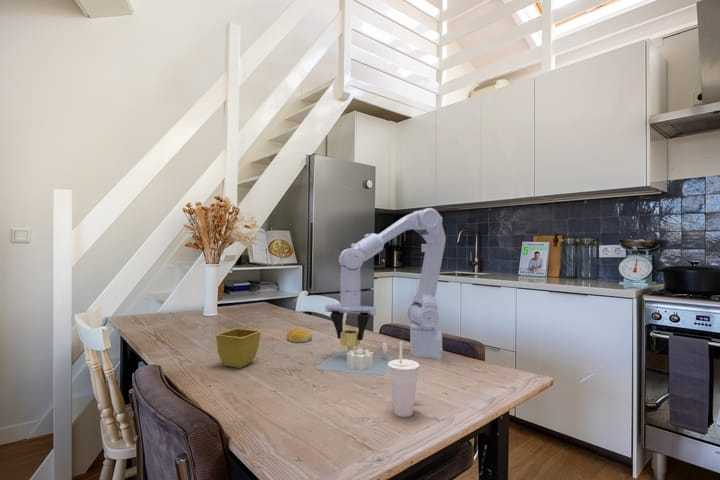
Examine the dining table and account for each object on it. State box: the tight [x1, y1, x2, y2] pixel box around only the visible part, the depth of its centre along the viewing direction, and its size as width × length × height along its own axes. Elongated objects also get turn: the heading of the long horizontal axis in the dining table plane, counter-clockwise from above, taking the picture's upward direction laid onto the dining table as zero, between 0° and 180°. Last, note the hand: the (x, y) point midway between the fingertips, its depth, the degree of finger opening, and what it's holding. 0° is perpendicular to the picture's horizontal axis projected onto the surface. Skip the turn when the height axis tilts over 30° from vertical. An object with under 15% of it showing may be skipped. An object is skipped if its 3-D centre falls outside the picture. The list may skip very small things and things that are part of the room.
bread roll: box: [286, 327, 313, 344], centre depth 132 cm, size 8×9×4 cm
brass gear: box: [339, 329, 361, 348], centre depth 106 cm, size 6×6×3 cm
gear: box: [346, 349, 374, 370], centre depth 99 cm, size 7×7×3 cm
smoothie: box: [387, 341, 421, 418], centre depth 74 cm, size 6×6×14 cm
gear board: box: [315, 342, 396, 377], centre depth 102 cm, size 18×16×6 cm
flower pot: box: [215, 327, 261, 369], centre depth 104 cm, size 9×9×9 cm
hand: (350, 338), depth 106 cm, fingers closed on brass gear, 5 cm apart
